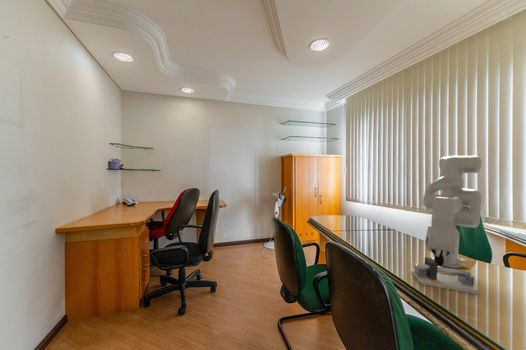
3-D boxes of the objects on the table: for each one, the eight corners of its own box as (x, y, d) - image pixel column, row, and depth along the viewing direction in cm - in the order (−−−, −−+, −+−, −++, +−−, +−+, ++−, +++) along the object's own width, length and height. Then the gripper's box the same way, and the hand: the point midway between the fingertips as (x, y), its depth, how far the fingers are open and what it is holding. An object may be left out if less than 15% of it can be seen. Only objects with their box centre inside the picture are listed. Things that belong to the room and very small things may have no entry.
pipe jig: (461, 280, 101) (462, 265, 100) (478, 294, 89) (479, 277, 89) (411, 271, 106) (412, 258, 106) (421, 283, 95) (422, 268, 95)
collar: (429, 272, 102) (430, 258, 102) (436, 279, 95) (437, 264, 95) (423, 271, 103) (424, 257, 103) (430, 278, 96) (431, 263, 96)
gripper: (457, 224, 99) (454, 264, 99) (419, 220, 103) (416, 258, 104) (467, 228, 92) (463, 271, 92) (425, 224, 96) (422, 265, 97)
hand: (438, 264), depth 98 cm, fingers closed
